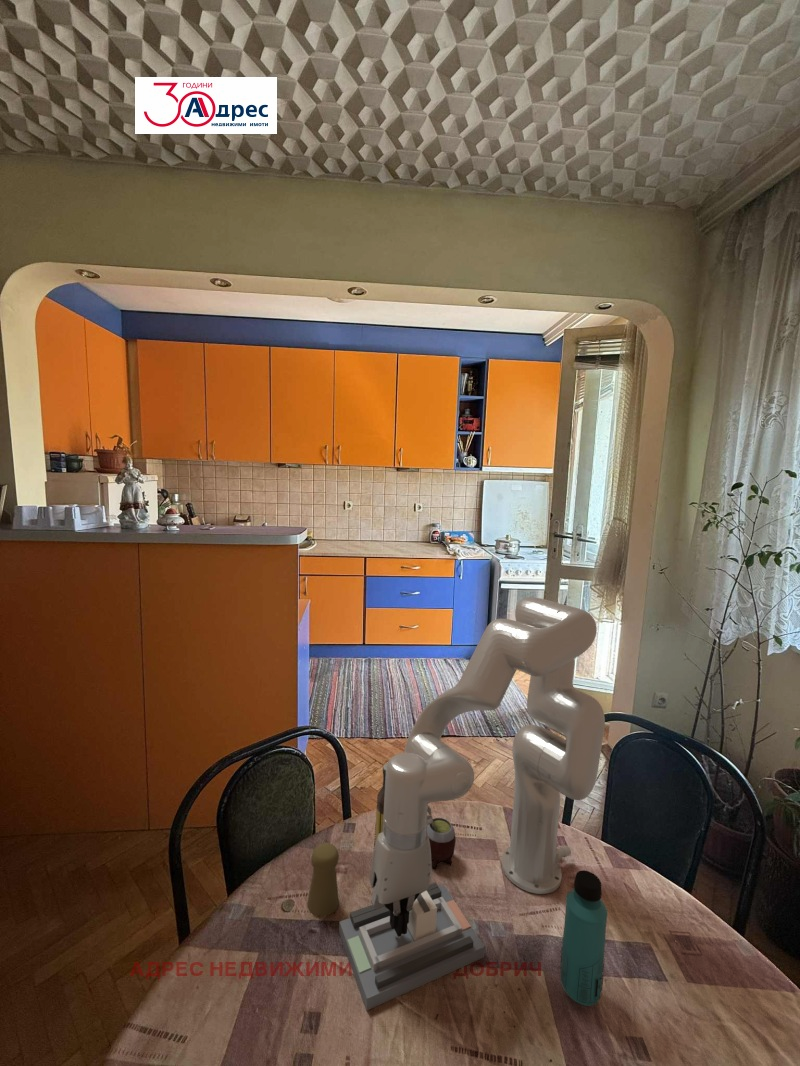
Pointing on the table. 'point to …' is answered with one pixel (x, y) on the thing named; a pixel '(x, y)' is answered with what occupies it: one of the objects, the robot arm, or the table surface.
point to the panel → (406, 949)
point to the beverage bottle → (584, 940)
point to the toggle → (422, 917)
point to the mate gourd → (441, 840)
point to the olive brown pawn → (324, 881)
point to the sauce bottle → (380, 806)
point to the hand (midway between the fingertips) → (398, 928)
